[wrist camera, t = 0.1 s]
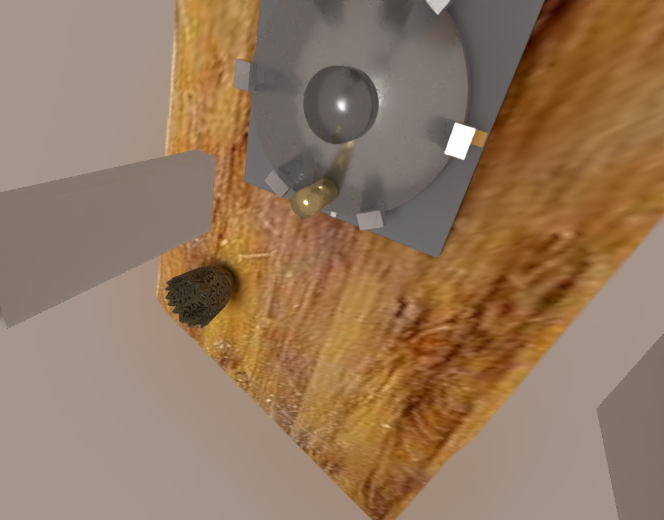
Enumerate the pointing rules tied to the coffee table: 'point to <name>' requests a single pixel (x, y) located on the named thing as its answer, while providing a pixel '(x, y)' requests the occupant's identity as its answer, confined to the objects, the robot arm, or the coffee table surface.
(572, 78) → the coffee table surface
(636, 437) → the robot arm
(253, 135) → the plate
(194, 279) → the cup
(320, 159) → the grey metal round disc
